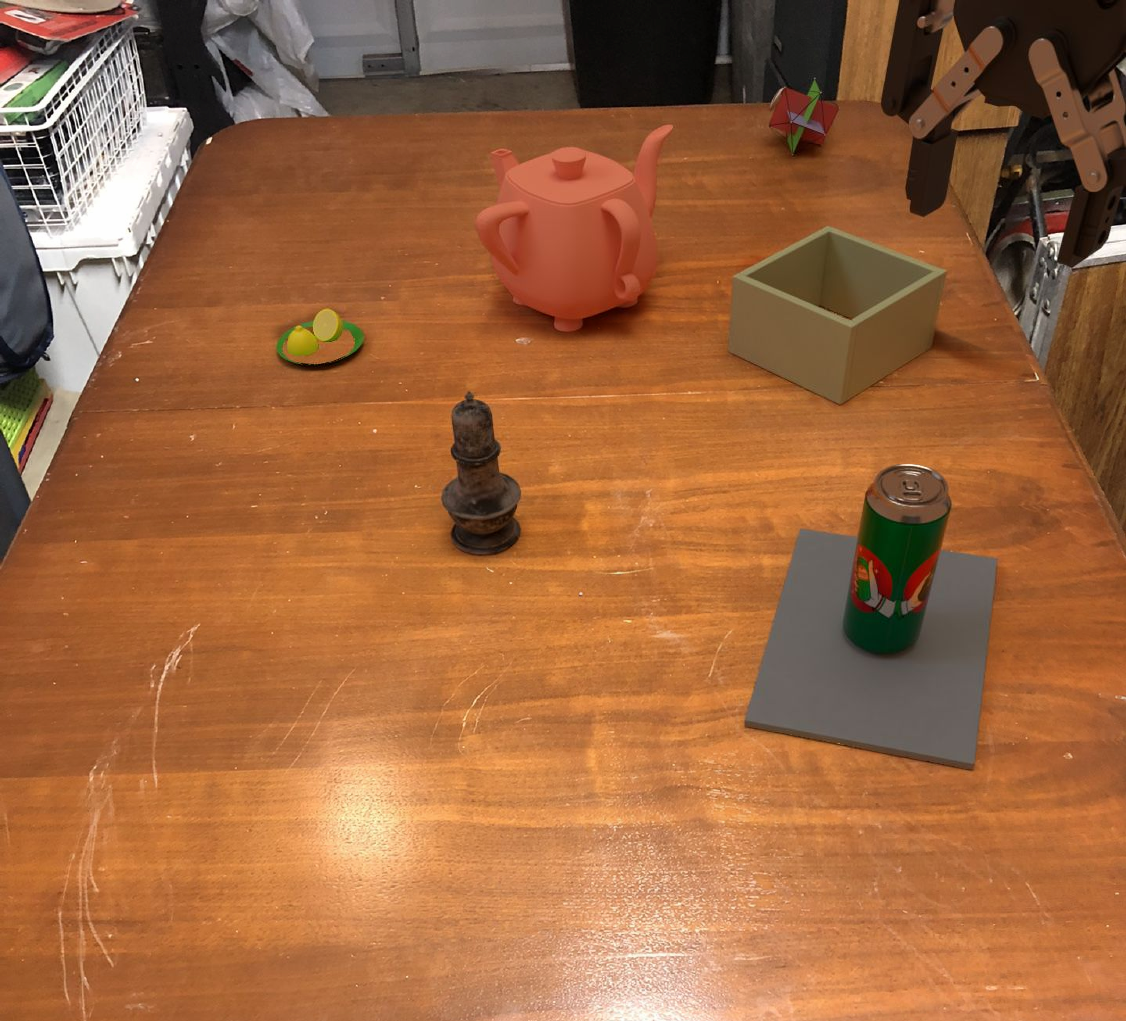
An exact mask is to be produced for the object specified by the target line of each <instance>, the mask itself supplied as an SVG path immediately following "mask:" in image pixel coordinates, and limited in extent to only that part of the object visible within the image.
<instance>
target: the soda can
mask: <svg viewBox="0 0 1126 1021" xmlns="http://www.w3.org/2000/svg"><path fill="white" fill-rule="evenodd" d="M952 505H953V504H952V499H951V495H950V493H949V484H948V481H947V480H946V478H945V477H944V476H943V475H942V474H941V473H939V472H938V471H937V470H934V469H933V468H930V467H927V466H924V465H921V464H915V463H914V464H913V463H900V464H894V465H889V466H887V467H885V468H883V469H882V470H880V471H879V472H878V473H877V474H876V476H875V478H874V480H873V482H872V483H871V484H870V485H869V486H868V488H867V489H866V491H865V494H864V498H863V504H862V511H861V516H860V521H859V526H858V532H857V533H858V534H857V537H858V538H857V544H856V549H855V555H854V561H853V566H852V572H851V578H850V583H849V589H848V594H847V600H846V606H845V611H844V617H843V630H844V632H845V634H846V636H847V637H848V638H849V640H850V641H851V642H852V643H853V644H854V645H856V646H857V647H858V648H860V649H862V650H864V651H866V652H869V653H872V654H877V655H891V654H895V653H899V652H901V651H904V650H906V649H908V648H909V647H911V646H912V645H914V644H915V643H916V641H917V640H918V638H919V636H920V632H921V628H922V624H923V620H924V616H925V612H926V608H927V604H928V599H929V595H930V591H931V587H932V583H933V579H934V575H935V571H936V567H937V563H938V559H939V555H940V551H941V550H942V546H943V543H944V538H945V534H946V530H947V526H948V523H949V518H950V514H951V510H952Z"/></svg>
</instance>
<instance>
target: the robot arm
mask: <svg viewBox="0 0 1126 1021" xmlns="http://www.w3.org/2000/svg"><path fill="white" fill-rule="evenodd" d="M952 20H953V21H954V24H955V25H954V26H955V27H956V30H957V34H958V36H959V39H960V44H961V45H962V49H963V51H964V53H963V54H962V55H961V56H960V57H959V58H958V60H957V61H955V63H954V64H953V65H951V67H950V69H948V71H947V72H946V73H945V74H944V75H943V76H942V77H941V78H940V79H939V81H938V82H937V83H936V84H935V85H934V86H933V82H934V76H935V71H936V66H937V61H938V57H939V52H940V47H941V43H942V40H943V39H942V38H943V33H944V29H945V27H947V26H949V25H950V23H951V22H952ZM1125 59H1126V0H898V3H897V11H896V15H895V20H894V26H893V32H892V37H891V43H890V49H889V55H888V60H887V65H886V70H885V75H884V82H883V87H882V92H881V97H880V108H881V110H882V112H883V113H884V114H885V115H886V116H888V117H895V116H898V118H900V119H901V120H902V121H903V122H904V123H906V124H907V126H908V130H909V132H910V134H911V135H912V142H911V148H910V155H909V161H908V169H907V174H906V176H907V177H906V179H905V187H904V189H905V196H906V200H908V201H910V202H909V212H910V213H911V214H913V215H915V216H918V217H922V218H925V217H927V216H928V215H931V214H932V213H934V212H935V211H937V210H939V209H940V208H942V207H943V206H944V203H945V201H946V199H947V195H948V190H949V183H950V180H951V179H950V178H951V172H952V167H953V162H954V158H955V157H954V155H955V151H956V146H957V140H958V134H959V130H957V129H955V128H952V125H953V123H954V122H956V120H957V119H958V118H959V117H960V115H962V114H963V113H964V112H965V111H966V110H967V108H968V107H969V106H970V105H971V104H972V103H974V101H975V100H976V99H977V98H978V97H979V96H981V95H982V96H984V101H983V102H984V104H987V105H991V106H995V107H997V108H1000V107H1015V108H1017V109H1018V110H1019V111H1020V112H1023V113H1025V114H1026V115H1027V116H1031V117H1033V118H1037V119H1041V120H1044V119H1046V118H1047V117H1049V116H1051V118H1052V120H1053V123H1054V126H1055V129H1056V133H1057V134H1058V135H1057V136H1058V138H1059V140H1060V142H1061V144H1062V145H1064V146H1066V147H1068V148H1069V149H1070V151H1071V154H1072V158H1073V160H1074V163H1075V166H1076V170H1077V173H1078V176H1079V178H1080V181H1081V184H1080V185H1078V186H1076V187H1075V188H1074V193H1073V197H1072V200H1071V204H1070V208H1069V211H1068V215H1067V219H1066V222H1065V226H1064V230H1063V235H1062V238H1061V241H1060V245H1059V250H1058V253H1057V256H1056V262H1057V264H1059V265H1062V266H1065V267H1068V268H1071V269H1072V268H1075V267H1076V266H1078V265H1079V264H1080V263H1082V262H1083V261H1085V260H1086V259H1088V258H1089V257H1090V256H1092V255H1094V254H1095V253H1097V252H1098V251H1099V250H1101V249H1102V248H1103V247H1104V246H1105V244H1106V243H1107V242H1108V240H1109V237H1110V234H1111V230H1112V226H1113V224H1114V220H1115V217H1116V213H1117V210H1118V207H1119V204H1120V200H1121V196H1122V193H1123V191H1124V190H1123V189H1124V187H1126V123H1125V115H1126V101H1125V98H1124V95H1123V91H1122V90H1121V85H1120V83H1119V79H1118V77H1117V76H1118V75H1117V74H1116V70H1115V69H1116V67H1118V65H1119V64H1121V63H1122V62H1123V61H1124V60H1125ZM932 86H933V88H932ZM1086 97H1088V101H1089V107H1090V108H1089V111H1088V110H1087V108H1086V107H1085V105H1084V102H1083V99H1084V98H1086Z"/></svg>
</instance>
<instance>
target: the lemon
mask: <svg viewBox="0 0 1126 1021" xmlns="http://www.w3.org/2000/svg"><path fill="white" fill-rule="evenodd" d="M306 327H313V332H314V335H315V336H314V335H313V334H312V333H311V332H310V331H309V330H307V329H305V328H306ZM343 329H345V330H349V331H350V332H351V334H352V336H353V338H355V340H354V341H355V345H354V348H353V350H351V352H350V353H349V354H348V355H346V356H345V357H343V358H341V359H339V360H343V359H344V358H346V357H348V356H350V355H352V354H353V353H355V352H357V350H358V349H359V348H360V347H361V346H362V344H363V342H364V338H365V335H364V332H363V330H362V329H361V328H360V327H359V326H358V325H356V324H355V323H352V322H349V321H346V320H342V318H341V317H340V315H339V314H338V312H337V313H336V312H335V311H334V310H333V309H331V308H324V309H321V310H320V311H319V312H317V314H316V315H315V317H314V319H313V320H312V321H308V322H304V323H301V324H298V325H296V326H294V327H292V328H290V329H288V330H287V331H285V332H284V333H283V334H282V335H281V336H280V337H279V338H278V340H277V342H276V351H277V353H278V355H279V356H280V357H282V358H283V359H284V360H285V361H287V362H291V363H295V364H300V365H302V364H301V363H297V362H294V361H291V360H289V359H288V358H287V357H285V356H286V355H284V353H282V352H283V350H282V348H283V343H284V341H287V340H284V339H285V338H288V341H287V350H288V352H289V353H290V354H291V355H293V356H308V355H311V354H313V353H315V352H316V351H317V350H318V349H319V344H318V341H317V339H318V340H320V341H323V342H332V341H335V340H337V339H338V338H339V337H340V336H341V334H342V331H343ZM316 338H317V339H316ZM339 360H336V361H339ZM336 361H333V362H336ZM333 362H332V363H333ZM330 363H331V362H329V363H328V364H330ZM309 365H311V364H309ZM314 365H315V366H316V364H314ZM323 365H325V363H324V364H323Z"/></svg>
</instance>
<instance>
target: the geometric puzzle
mask: <svg viewBox="0 0 1126 1021" xmlns="http://www.w3.org/2000/svg"><path fill="white" fill-rule="evenodd" d="M807 81H808V82H807V83H805V84H804V85H802V86H801V87H799V88H795V87H789V85H788V86H784V87H782V88H780V89H779V90H778V91H777V92H776V93H775V94H774V96H773V98H772V99H771V101H770V104H769V112H772V111H773V110H774V111H773V114H772V115H771V118H770V120H769V121H768V124H767V127H769V129H770V130H771V131H772V132H774V131H775V133H777V134H779V135H780V136H782V137H783V139H785V140H786V142H787V144H788V146H789V148H787V150H789V152H790V153H791V155H792V156H793V155H795V154H798V153H800V152H801V153H803V152H805V151H808V150H809V148H808V149H804V148H806V147H808V146H810V145H815V147H814V146H813V147H811V148H810V150H812V149H815V148H818V147H823V144H824V141H825V139H826V137H827V135H828V133H829V131H830V129H831V127H832V126H833V123H834V120H835V118H836V116H837V114H838V112H839V110H840V109H841V107H840V106H839V105H838V104H837V103H836V102H834V101H833V98H832V97H831V96H830V95H828V97H827V96H826V95H825V94H824V93H822V91H821V88H820V87H822V85H821V84H820V83H819V82H818V81H817V78H816V77H814V78H812V80H810V79H808V80H807ZM811 82H812V84H811V86H810V88H809V89H808V90H807V89H802V88H803V87H805V86H806V85H808V84H809V83H811ZM801 83H802V84H803V81H802V82H800V84H801ZM818 84H819V85H818ZM795 85H796V83H794V84H793V86H795ZM798 91H805V92H807V94H804V93H801V92H798ZM823 91H824V92H825V93H827V91H826V89H823ZM823 96H824V97H825V98H826V99H827V100H829V101H830V102H831V103H832V104H830V103H829V102H825V101H823ZM819 97H820V99H819ZM829 97H830V98H829ZM777 130H779V131H781V132H785V133H786V136H787V137H785V136H783V135H782V134H781V133H779V132H778V131H777ZM777 134H775V136H776V137H777V138H778V139H780V137H779V136H778V135H777ZM788 134H789V135H788ZM800 139H802V140H806V141H807V142H806V141H801V140H800ZM808 141H809V142H808ZM781 143H783V145H784V146H786V145H785V144H784V142H783V141H781ZM798 143H803V144H807V145H805V146H803V147H801V148H800V149H798V150H796V149H797V148H796V147H797V146H798ZM803 149H804V150H803ZM795 150H796V151H795ZM801 150H802V151H801Z"/></svg>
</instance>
